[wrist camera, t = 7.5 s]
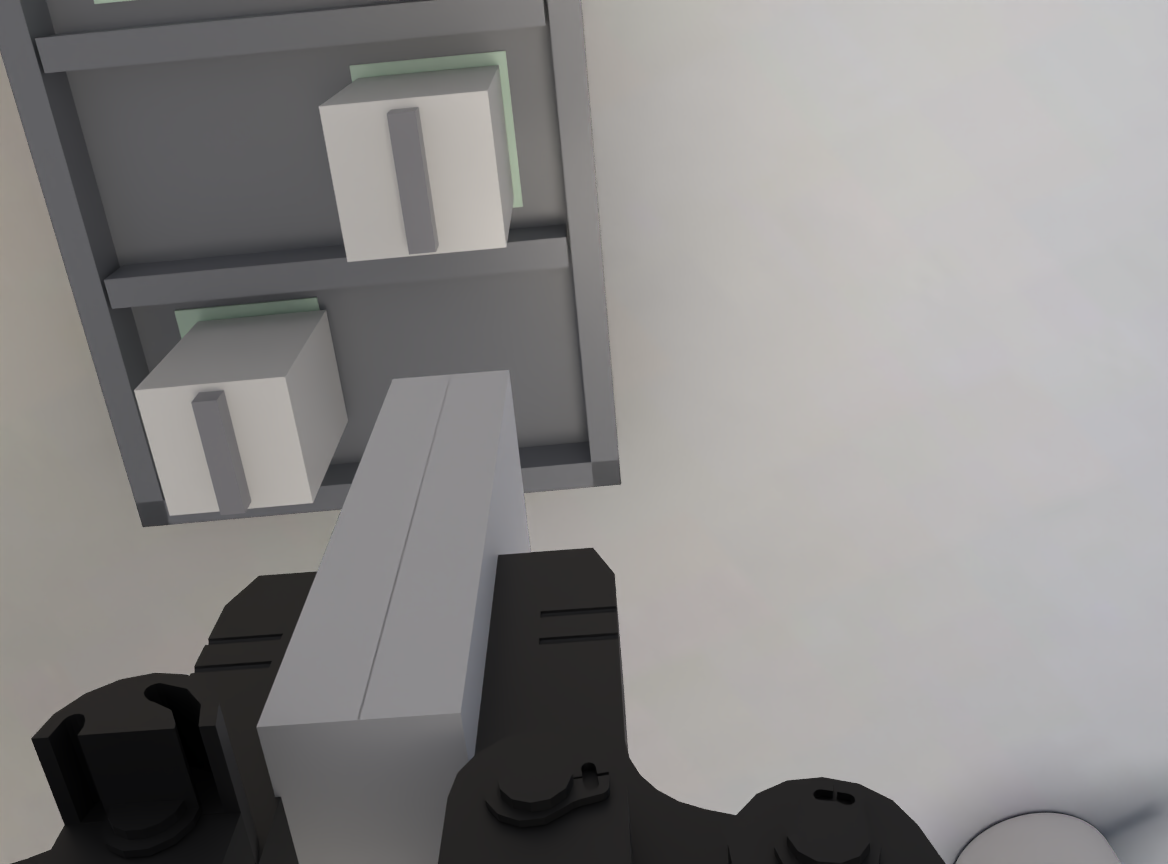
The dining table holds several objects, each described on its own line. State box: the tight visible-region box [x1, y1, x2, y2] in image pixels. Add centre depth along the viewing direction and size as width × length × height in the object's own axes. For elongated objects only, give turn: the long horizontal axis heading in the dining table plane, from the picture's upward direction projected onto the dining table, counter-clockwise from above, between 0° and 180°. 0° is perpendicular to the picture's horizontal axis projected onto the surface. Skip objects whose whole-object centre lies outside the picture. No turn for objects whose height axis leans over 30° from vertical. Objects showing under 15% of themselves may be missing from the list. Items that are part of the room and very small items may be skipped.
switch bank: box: [0, 0, 621, 527], centre depth 28 cm, size 14×20×3 cm
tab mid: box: [319, 65, 514, 262], centre depth 25 cm, size 4×3×6 cm
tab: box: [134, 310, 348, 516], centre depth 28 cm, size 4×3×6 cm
